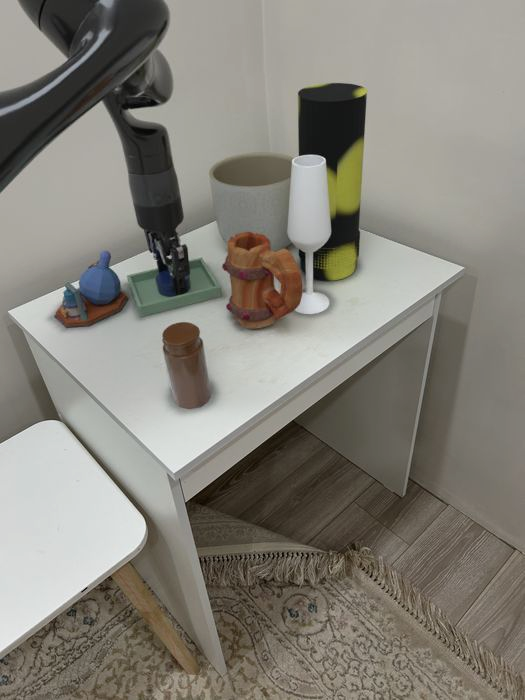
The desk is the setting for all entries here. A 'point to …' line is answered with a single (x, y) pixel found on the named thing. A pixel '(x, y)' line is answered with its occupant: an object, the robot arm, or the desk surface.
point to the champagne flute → (309, 220)
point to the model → (92, 296)
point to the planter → (253, 196)
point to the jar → (186, 365)
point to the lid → (168, 284)
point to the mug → (261, 280)
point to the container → (335, 168)
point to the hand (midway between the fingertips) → (173, 284)
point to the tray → (154, 302)
